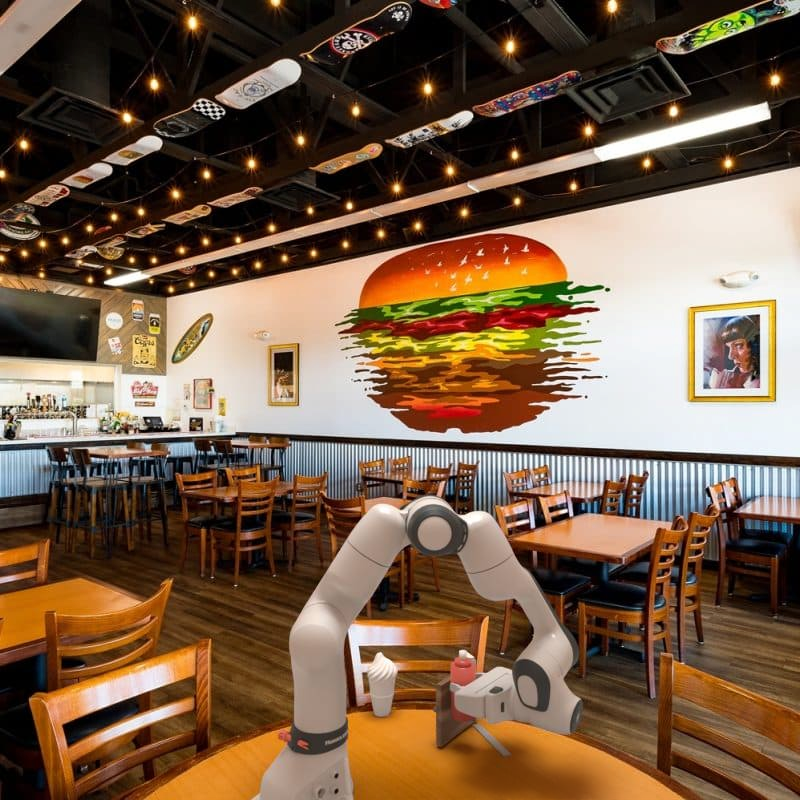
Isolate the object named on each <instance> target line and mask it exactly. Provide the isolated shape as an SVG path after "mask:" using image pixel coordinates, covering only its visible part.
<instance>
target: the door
mask: <svg viewBox="0 0 800 800" xmlns="http://www.w3.org/2000/svg"><path fill="white" fill-rule="evenodd" d="M450 684H451V674H450V675H448V676H447V677H445V678H444V679H442V680H441V681H439V682H437V683H436V684H435V706H434V707H433V709H432V710H433V713H435V746H437V747H440V748H442V747H443V746H445V745H446V744H447V743H449V741H451V740H452V739H454V738H455V737H456V736H458V735H459V734H461V732H463V731H464V730H465V729H467V728H468V727H469V726H471V725H473V724H472V723H473V720H472V721H468V722H462V721H457V720H455V719H453V718H452V717H451V690H450Z"/></svg>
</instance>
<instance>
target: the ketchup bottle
mask: <svg viewBox="0 0 800 800" xmlns="http://www.w3.org/2000/svg"><path fill="white" fill-rule="evenodd" d="M467 652H468V651H467V650H466V649H460V650H459V651H458V656H457V657H455V658H454V661H451V662H450V675H451V683H453V682H458V683H459V685H460V686H461V687H462V686H466V685H468V684H470V683H471V682H473V681H474V680H476V673H477V664H476V665H475V663H473V662H471V659H470V658H468V657H467ZM454 695H455V692H452V691H451V717H452V718H453V719H455V720H457V721H462V722H468V721H472V720H474V719H475V718H476V717H473V716H470V715H467V714H465V713H462V712H460V711H458V710H457V709H456V708H455V702H454ZM476 719H477V718H476Z"/></svg>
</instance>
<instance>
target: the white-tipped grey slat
mask: <svg viewBox="0 0 800 800" xmlns="http://www.w3.org/2000/svg"><path fill="white" fill-rule="evenodd" d="M467 657H468V658H470V659H471V662H473V663H475V665H476V666H477V659H475V656H473V655H472V654H471V653H469V652H468V651H467ZM471 725H473V726H472V727H473V728H474V729H475V730H476V731H477V732H478V734H480V735H481V736H482V737H483V738H484V739H485V740H486V741H487V742H488V743H489V744H490V745H491V746H492V747H493V748H494V749H495V750H496V751H497V752H498V753H499V754H500V755H502V757H508V756H512V754H511V752H510V751H508V749H507V748H505V747H504V746H503V745H502V743H500V741H499V740H497V739H496V738H495V737H494V736H493V735H492V734H491V733H490V732H489V731H488V730H487V729H486V728H485V727H484V726H483V725H482V724H481V723H479V724H477V718H475V719H474V720H473V723H472V724H471Z"/></svg>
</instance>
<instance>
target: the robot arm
mask: <svg viewBox="0 0 800 800" xmlns="http://www.w3.org/2000/svg"><path fill="white" fill-rule="evenodd" d="M499 525H500V524H498V522H497V521H496V520H495V518H494V517H493V516H492V515H491V514H490V513H488V512H487V511H484V510H475V511H471V512H470V511H469V512H468V513H465V514H458V513H456V512H455V511H454V509H453V508H452V506H451V505H450V504H449V503H448V502H447V501H446V500H445V499H444V498H443V497H440V496H439V495H434V494H425V495H424V494H423V495H420V496H419V497H418V496H417V497H416V498H415V499H413V500H411V501H409V502H408V503H405V504H403V505H401V506H400V507H399V508H397V507H395V506H394V505H391V504H387V503H378V504H374V505H373V506H372V507H370V509H369V510H368V511H367V512H366V513H365V514H364V515H363V517H361V519H360V520H359V521H358V523H356V525H355V526H354V527H353V529H352V530H351V532H350V533H349V535H348V536H347V538H346V540H345V541H344V543H343V545H342V546H341V547H340V550H339V551H338V552H337V554H336V556H335V558H333V560H332V562H331V563H330V565H329V567H328V568H327V570H326V572H325V573H324V575H323V576H322V578H321V579H320V581H319V583H318V585H317V586H316V588H315V589H314V591H313V592H312V594H311V596H310V597H309V598H308V600H307V602H306V603H305V605H304V607H303V608H302V610H301V612H300V613H299V616H298V617H297V619H296V621H295V622H294V624H293V625H292V627H291V629H290V633H289V639H288V642H289V644H288V646H289V654H290V661H291V664H290V665H291V670H292V671H291V672H292V677H293V686H294V687H293V691H294V693H293V694H294V695H293V696H294V697H293V699H294V700H293V701H294V702H293V704H294V705H293V706H294V708H293V715H294V717H293V720H292V722H291V723H292V724H291V726H290V729H289V731H287V730H286V729H285V728H282V729H280V730H279V732H278V734H277V739H278V740H280V741H282V742H283V743H286V744H285V746H284V747H283V749H282V750H281V751H280V753H279V754H278V755H277V756H276V758H275V759H274V760H273V761H272V763H271V764H270V766H269V767H268V768H267V769H266V771H265V772H264V773H263V775H262V778H261V783H260V789H259V793H258V794H256V795H255V796H254V797H253V798H251V799H250V800H355V799H354V794H353V791H354V781H353V778H352V775H351V770H350V769H351V768H350V763H349V762H350V759H349V753H348V746H347V745H348V743H347V740H348V738H349V731H350V730H349V718H348V717H347V679H346V670H345V653H344V652H345V641H346V640H345V639H346V637H347V635H348V632H349V630H350V628H351V626H352V624H353V623H354V621H355V620H356V619H357V617H358V616H359V614H360V612H361V611H362V609H364V607H365V606H366V604H367V603H368V601H369V600H370V599H371V598H372V597H373V595H374V593H375V592H376V590H377V588H378V587H379V585H380V584H381V583H382V580H383V579H384V577H385V575H386V574H387V572H388V571H389V569H390V568H391V566H392V565H393V562H394V561H395V559H396V557H397V556H398V554H399V553H400V552H401V551H402V550H403V549H404V548H405V547H407V546H409V545H412V547H413V548H414V549H415V550H416V551H418V552H419V553H421V554H423V555H425V556H429V557H441V556H444V555H452V554H453V555H454V554H457V555H458V557H459V558H460V562H461V563H462V565H463V568H464V571H465V572H466V575H467V577H468V579H469V582H470V583H471V586H472V587H473V589H474V590H475V592H476V593H477V594H478V595H479V596H481V597H482V598H484V599H486V600H489V601H494V602H498V601H499V602H500V601H507V600H513V599H514V600H515V601H517V602H518V603H519V605H520V607H521V608H522V609H523V612H524V614H525V615H526V617H527V618H528V620H529V622H530V624H531V626H532V627H533V637H532V640H531V642H530V643H529V644H528V646H527V647H526V648H525V649H524V650H523V651H522V652H521V654H520V655H519V656H518V657H517V659H516V660H515V662H514V663H513V666H512V668H511V669H510V668H507V667H504V666H495V667H494V668H492V669H491V670H489V671H488V672H476V680H474V681H473V682H471V683H470V684H468V685H466V686H462V687H461V686H460V685H459V683H458V682H453V683H451V684H450V690H451V691H452V692H455V695H454V702H455V708H456V709H457V710H458V711H460V712H462V713H465V714H467V715H470V716H473V717H476V719H485V721H486V722H485V723H487V724H489V725H497V724H500V723H503V722H508V721H509V722H511V721H516V722H520V723H529V724H531V725H532V726H533V727H535V728H537V729H540V730H544V731H546V732H549V733H553V734H557V735H558V734H559V735H571V734H573V733H574V732H575V731H576V729H577V727H579V724H580V722H581V718H582V715H583V710H584V705H583V701H582V699H581V698H580V697H579V696H576V695H575V694H574V693H573V692H572V691H571V690H570V688H569V687H568V685H567V684H566V682H565V679H564V678H565V677H566V675H567V673H568V672H569V671H571V669H572V668H573V667H574V666H575V665H576V663H577V662H578V660H579V656H580V648H579V645H578V643H577V640H576V638H575V637H574V635H573V634H572V633H571V632H570V630H569V629H568V628H567V627H566V626H565V625H564V623H563V622H562V621H561V619H560V618H559V616H558V615H557V613H556V611H555V609H554V607H553V606H552V605H551V602H550V601H549V600H548V597H547V596H546V595H545V591H544V590H543V589H542V587H541V586H540V584H539V583H538V581H537V580H536V578H535V576H534V575H533V574H532V573H531V572H530V570H529V569H527V568H526V567H525V566H522V565H521V564H520V562H519V560H518V559H517V557H516V556H515V553H514V550H513V549H512V546H511V544H510V542H509V541H508V538H507V537H506V535H505V534H504V531H503V530H502V529H501V527H500V526H499Z"/></svg>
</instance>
